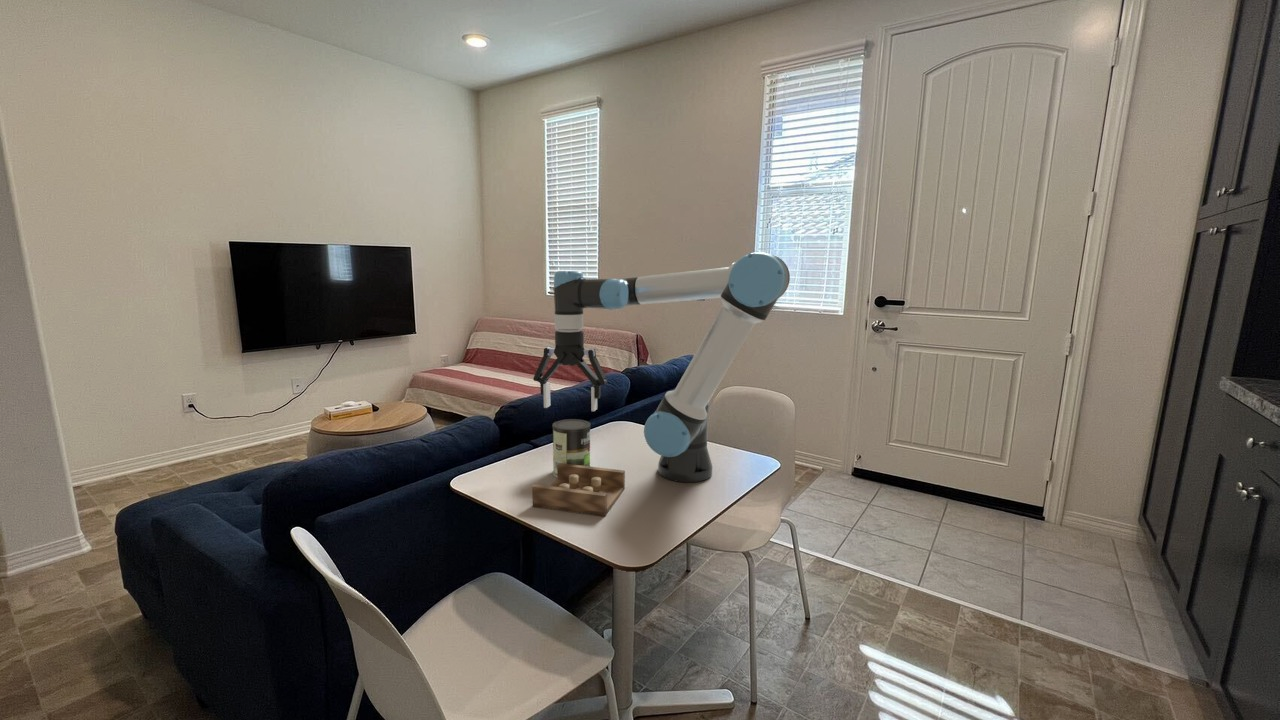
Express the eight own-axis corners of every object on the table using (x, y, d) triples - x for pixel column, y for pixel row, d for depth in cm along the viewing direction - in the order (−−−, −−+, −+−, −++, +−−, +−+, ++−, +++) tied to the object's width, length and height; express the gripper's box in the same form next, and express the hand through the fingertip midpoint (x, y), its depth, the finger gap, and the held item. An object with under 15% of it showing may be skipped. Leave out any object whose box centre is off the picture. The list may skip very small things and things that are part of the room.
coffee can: (594, 468, 147) (595, 420, 145) (583, 482, 137) (583, 431, 135) (560, 464, 149) (560, 417, 147) (547, 478, 139) (546, 427, 137)
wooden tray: (624, 489, 133) (624, 470, 133) (604, 516, 118) (605, 496, 117) (559, 480, 138) (559, 462, 137) (532, 506, 123) (532, 486, 122)
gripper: (618, 330, 137) (618, 407, 141) (532, 327, 143) (534, 402, 147) (610, 333, 130) (610, 415, 134) (519, 330, 136) (521, 408, 139)
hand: (570, 408), depth 140 cm, fingers open, 13 cm apart
